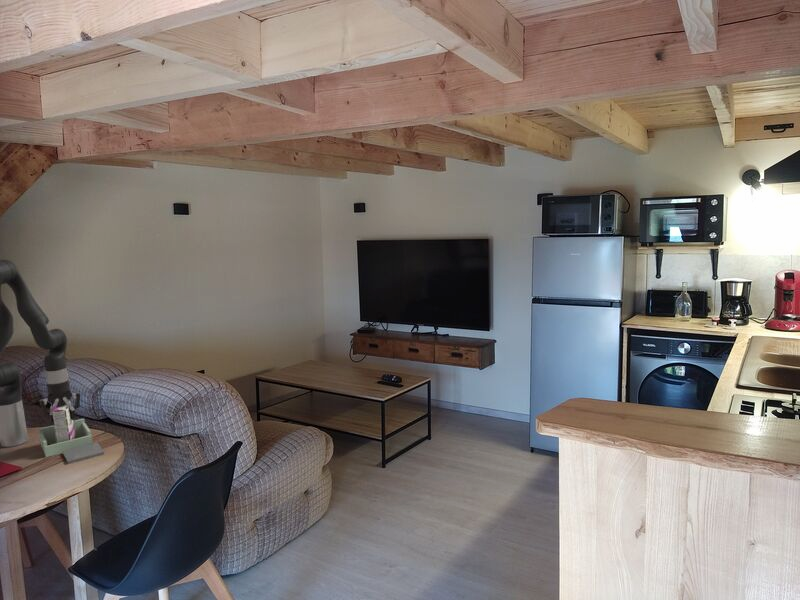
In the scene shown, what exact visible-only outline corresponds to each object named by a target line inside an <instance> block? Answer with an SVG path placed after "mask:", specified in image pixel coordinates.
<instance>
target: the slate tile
mask: <svg viewBox="0 0 800 600" xmlns="http://www.w3.org/2000/svg"><path fill="white" fill-rule="evenodd" d="M62 454H63V456H64V459H65V460H66V463H67V465H69V464H72V463H76V462H81V461H83V460H84V459H85V460H88V459H91V457H92V458H95V456H96V457H99V456H102V455H105V451H104V450H103V447H102V448H101V446H100V444H99V443H98V442H94V443H93V444H89V445H86V446H82V447H78V448H74V449H70V450H66V451H63V453H62Z"/></svg>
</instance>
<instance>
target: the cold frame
mask: <svg viewBox="0 0 800 600" xmlns="http://www.w3.org/2000/svg"><path fill="white" fill-rule="evenodd" d="M85 422H86V420H85V418H79V419H76V420H75V419H74V420H73V423H74V429H75V436H76V439H73V440H68V441H64V442H60V443H57V440H56V434H55V428H54V424H53V425H48V426H45V427H40V428H38V434H39V439H40V440H39V441H40V446H41V449H42V451H43V453H44V457H45V458H47V457H52V456H56V455H60V454H63V451H66V450H70V449H74V448H78V447H82V446H86V445H89V444H93V435H92V431H91V429H90V428H89V426H88V425H87V423H85Z"/></svg>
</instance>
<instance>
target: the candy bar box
mask: <svg viewBox="0 0 800 600" xmlns="http://www.w3.org/2000/svg"><path fill="white" fill-rule="evenodd" d="M69 402H70V403H71V401H70V400H69ZM70 410H71V409H70V408H69V406H68V405H67V404H66V405H61V406H58V407H57V406H56V409H53V411H52V415H53V422H54V424H53V425H54V428H55V434H56V440H57V443H60V442H64V441H68V440H73V439H77V438H76V436H75V429H74V423H73V421H74V420H72V419H71V414H70Z"/></svg>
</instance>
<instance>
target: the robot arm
mask: <svg viewBox="0 0 800 600" xmlns="http://www.w3.org/2000/svg"><path fill="white" fill-rule="evenodd" d="M5 284H7V286H9V287H10V289H11V291H13V294H14V296H15V302H16V308H17V309H16V310H17V311H18V314H19V316H20V317H21V319H22V320H23V321H24V323H26V325H27V326H28V327H29V329H30V333H31V334H32V338H33V340H34V342H35V344H36V345H37V346H38V347H39V348H40V349H41V350H42V349H43V350H44V351H48V354H47V355H45V356H44V358H43V359H44V360H43V363H44V369H45V383H46V388H47V398H43V399H42V398H41V399H39V404H40V407H41V410H42V411H43V412H42V413H43V414H44V415H45V416H49V419H50V420H49V421H50V422H51V424H53V425H54V422H53V415H52V411H53V409H56V406H57V407H58V406H61V405H66V404H67V405H68V406H69V408H70V409H71V410H70V414H71V419H72V420H73V421H75V419H76V409H79V408H80V405H81V403H80V402H81V394H80V392H79V391H76V392H72V391H71V387H70V385H71V384H70V379H69V378H70V377H69V372H68V370H67V362H66V353H67V352H66V351H67V345H68V344H67V343H68V338H67V335H66V333H65V332H64V331H63V330H62V329H60V328H53V329H50V330H49V329H48V327H47V325H48V324H49V322H50V319H49V317H48V316H47V314H46V313H45V312H44V311H43V310H42V308H41V307H40V306H39V304H38V303H37V302H36V300H35V298H34V297H33V295H32V293H31V292H30V291H31V290H30V289H29V287H28V286H27V284H26V282H25V279H24V278H23V275H22V274H21V272H20V270H19V268H18V267H17V266H16V264H15V263H14V262H13V261H11V260H10V259H5V258H4V259H0V358H1V356H2V354H3V352H4V350H5V349H6V347H7V346H8V344H9V342H10V341H11V340H12V338H13V334H14V317H13V314H12V312H11V311H10V309H9V308H8V307H7V305H6V304H5V303H4V301H3V299H2V292H1V291H2V289H1V288H2V287H1V286H2V285H5ZM4 387H5V388H4ZM0 388H4V389H3V390H2V391H1V392H0V446H1V447H3V448H8V447H9V448H10V447H15V446H19V445H22V444H25V443H26V442H27V441H29V437H28V429H27V424H26V417H25V411H24V404H23V403H24V402H23V398H22V394H23V389H22V378H21V371H20V368H19V366H18V364H17V362H14V361H6V362H1V363H0ZM72 397H73V398H74V399H75V401H74V402H75V403H74V405H73V404H72V403H71V401H70V400H71V398H72ZM69 401H70V402H69ZM48 402H49V403H50V404H51V405H50V408H49V410H47V407H46V405H47V404H48Z"/></svg>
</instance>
